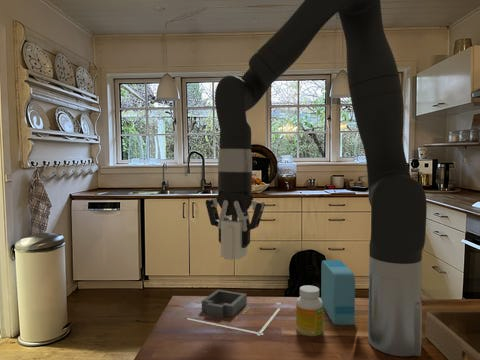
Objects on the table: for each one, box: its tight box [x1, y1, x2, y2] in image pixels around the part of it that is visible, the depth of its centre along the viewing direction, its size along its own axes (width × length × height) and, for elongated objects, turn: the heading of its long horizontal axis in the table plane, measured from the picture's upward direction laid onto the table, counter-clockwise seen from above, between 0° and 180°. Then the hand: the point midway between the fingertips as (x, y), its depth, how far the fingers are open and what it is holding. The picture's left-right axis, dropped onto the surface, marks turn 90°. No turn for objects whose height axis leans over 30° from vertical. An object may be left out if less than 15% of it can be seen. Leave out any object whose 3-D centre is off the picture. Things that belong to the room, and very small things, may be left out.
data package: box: [320, 259, 356, 326], centre depth 80 cm, size 12×4×12 cm, turn 0°
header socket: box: [201, 289, 251, 319], centre depth 83 cm, size 10×9×2 cm
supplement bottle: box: [295, 285, 324, 337], centre depth 72 cm, size 5×5×10 cm
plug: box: [220, 215, 248, 261], centre depth 78 cm, size 4×6×10 cm
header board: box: [186, 307, 281, 337], centre depth 80 cm, size 18×14×1 cm
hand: (234, 245), depth 78 cm, fingers closed on plug, 4 cm apart
